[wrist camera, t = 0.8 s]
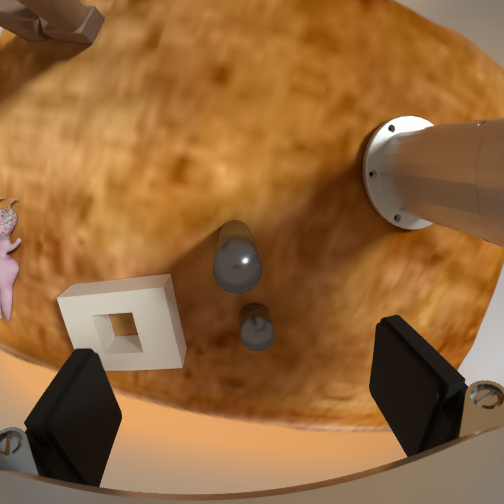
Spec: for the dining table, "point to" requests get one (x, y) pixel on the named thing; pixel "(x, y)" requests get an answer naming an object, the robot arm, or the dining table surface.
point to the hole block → (145, 316)
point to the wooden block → (51, 20)
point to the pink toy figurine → (7, 258)
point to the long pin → (236, 258)
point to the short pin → (256, 327)
